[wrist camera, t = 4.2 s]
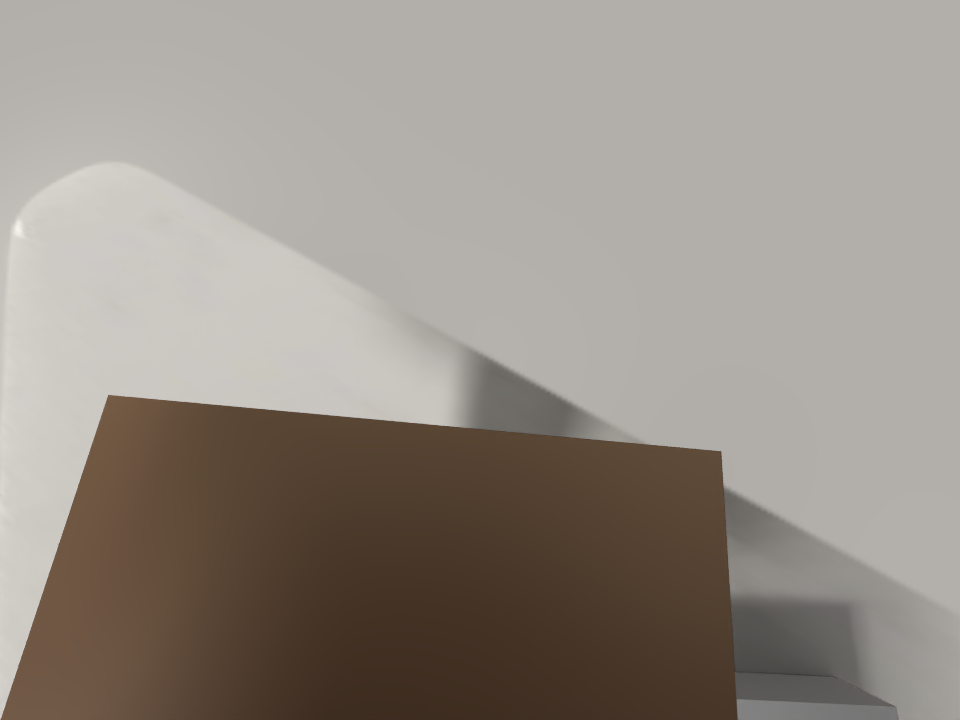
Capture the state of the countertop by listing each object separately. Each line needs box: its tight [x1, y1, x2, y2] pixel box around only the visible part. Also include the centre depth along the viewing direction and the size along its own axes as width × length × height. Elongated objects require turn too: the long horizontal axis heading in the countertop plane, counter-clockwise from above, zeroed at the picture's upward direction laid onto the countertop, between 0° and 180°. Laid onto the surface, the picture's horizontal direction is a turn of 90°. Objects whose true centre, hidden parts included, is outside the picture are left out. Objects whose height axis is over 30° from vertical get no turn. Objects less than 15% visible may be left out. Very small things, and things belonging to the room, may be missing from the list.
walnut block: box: [1, 395, 738, 720], centre depth 9 cm, size 5×5×13 cm
